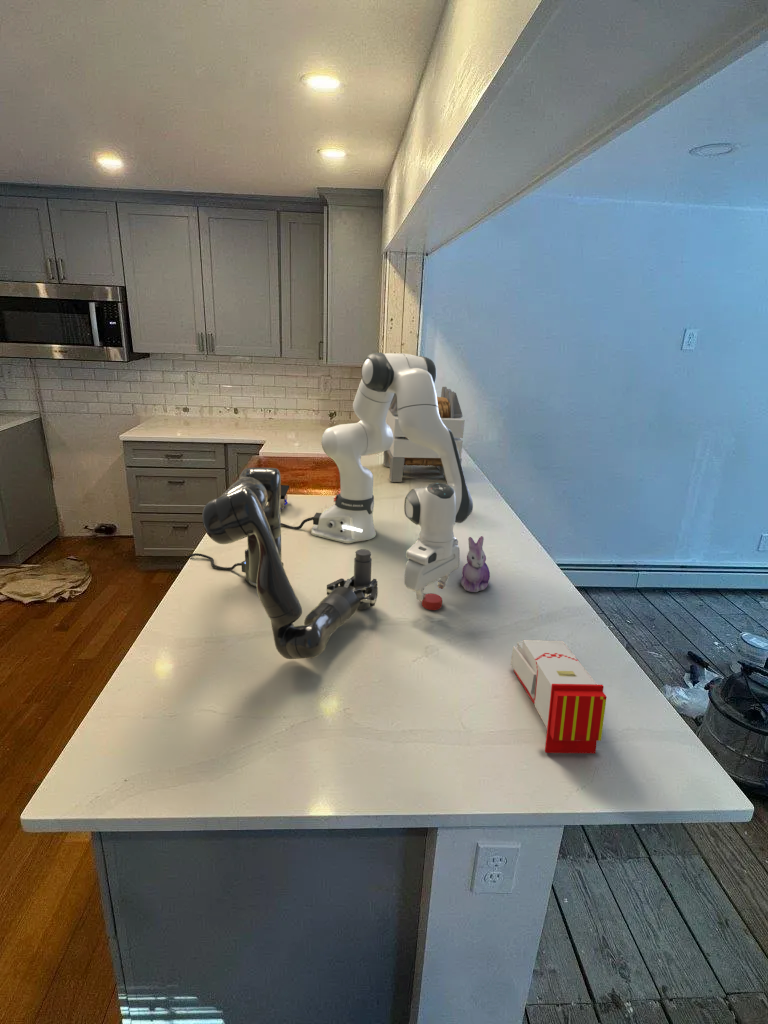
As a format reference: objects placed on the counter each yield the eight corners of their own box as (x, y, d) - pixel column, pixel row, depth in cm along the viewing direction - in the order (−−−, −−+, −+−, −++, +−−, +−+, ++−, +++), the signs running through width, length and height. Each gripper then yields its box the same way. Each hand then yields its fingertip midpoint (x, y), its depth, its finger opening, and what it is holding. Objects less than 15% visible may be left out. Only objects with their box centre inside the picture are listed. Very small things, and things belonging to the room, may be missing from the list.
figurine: (471, 596, 158) (477, 546, 153) (451, 580, 166) (455, 533, 161) (498, 590, 162) (504, 541, 157) (477, 575, 171) (482, 529, 166)
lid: (429, 612, 149) (429, 604, 148) (417, 603, 153) (418, 595, 153) (445, 607, 152) (446, 600, 151) (434, 598, 156) (434, 591, 155)
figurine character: (285, 517, 214) (290, 500, 227) (284, 499, 210) (289, 483, 224) (267, 517, 213) (273, 500, 227) (266, 498, 210) (272, 482, 223)
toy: (559, 623, 127) (616, 692, 98) (553, 678, 130) (607, 761, 101) (505, 622, 127) (547, 691, 98) (501, 677, 130) (540, 760, 100)
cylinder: (370, 601, 153) (372, 548, 148) (369, 609, 149) (371, 556, 144) (353, 600, 153) (355, 548, 148) (352, 609, 149) (354, 555, 144)
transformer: (382, 463, 289) (386, 382, 275) (445, 464, 293) (451, 384, 279) (390, 482, 257) (394, 392, 243) (460, 483, 261) (468, 394, 247)
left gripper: (363, 601, 133) (391, 572, 147) (310, 587, 138) (343, 561, 153) (362, 629, 135) (390, 598, 150) (310, 614, 140) (342, 586, 155)
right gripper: (448, 532, 156) (443, 577, 161) (401, 553, 141) (398, 602, 146) (467, 538, 153) (462, 584, 157) (422, 561, 138) (418, 611, 143)
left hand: (366, 580), depth 151 cm, fingers closed on cylinder, 4 cm apart
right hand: (431, 593), depth 152 cm, fingers open, 8 cm apart
